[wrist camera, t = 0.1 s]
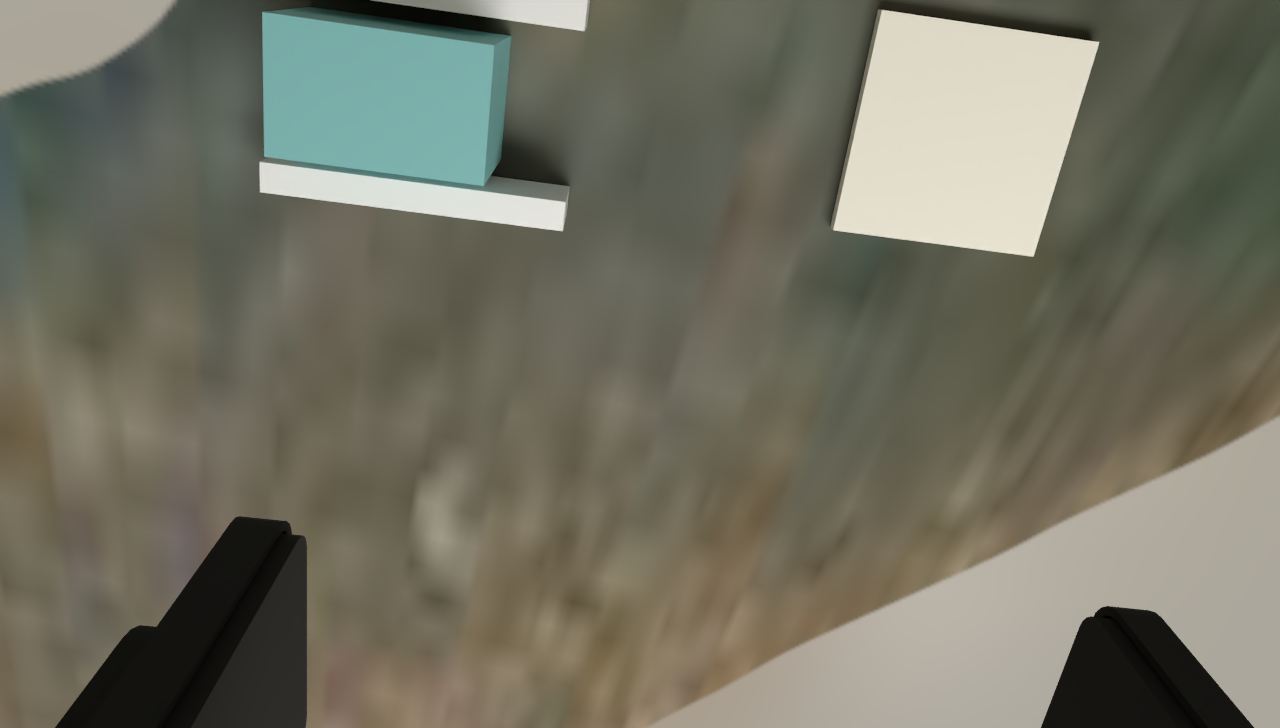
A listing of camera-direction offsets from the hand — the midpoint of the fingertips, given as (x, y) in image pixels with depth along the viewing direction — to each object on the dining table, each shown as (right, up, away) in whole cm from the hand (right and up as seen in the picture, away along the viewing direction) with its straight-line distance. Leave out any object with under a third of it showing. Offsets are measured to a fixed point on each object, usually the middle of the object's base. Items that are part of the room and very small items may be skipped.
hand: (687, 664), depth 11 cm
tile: (+13, +13, +29) cm, 34 cm away
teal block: (-10, +15, +27) cm, 33 cm away
